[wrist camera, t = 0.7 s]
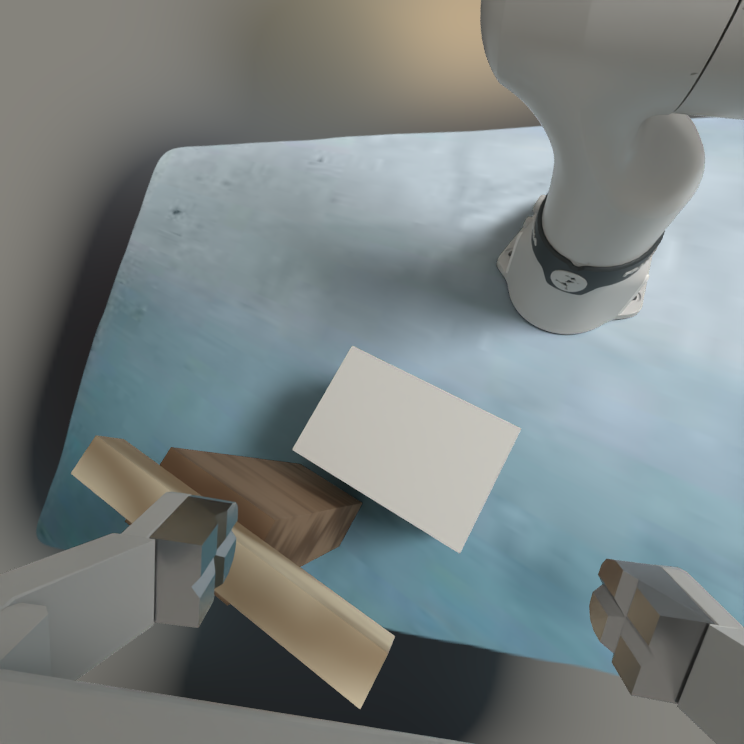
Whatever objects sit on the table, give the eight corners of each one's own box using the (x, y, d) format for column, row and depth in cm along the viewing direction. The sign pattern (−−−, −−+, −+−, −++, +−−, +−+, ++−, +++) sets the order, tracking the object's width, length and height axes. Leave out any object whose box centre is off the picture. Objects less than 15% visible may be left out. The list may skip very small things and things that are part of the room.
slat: (123, 439, 31) (95, 435, 28) (395, 636, 23) (388, 653, 21) (101, 474, 30) (70, 473, 28) (370, 686, 23) (360, 709, 21)
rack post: (300, 464, 54) (171, 447, 30) (362, 502, 51) (275, 520, 27) (277, 504, 53) (124, 521, 29) (339, 546, 50) (227, 605, 26)
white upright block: (379, 381, 55) (352, 345, 41) (502, 444, 50) (521, 428, 35) (335, 458, 53) (291, 449, 39) (458, 533, 48) (459, 553, 34)
